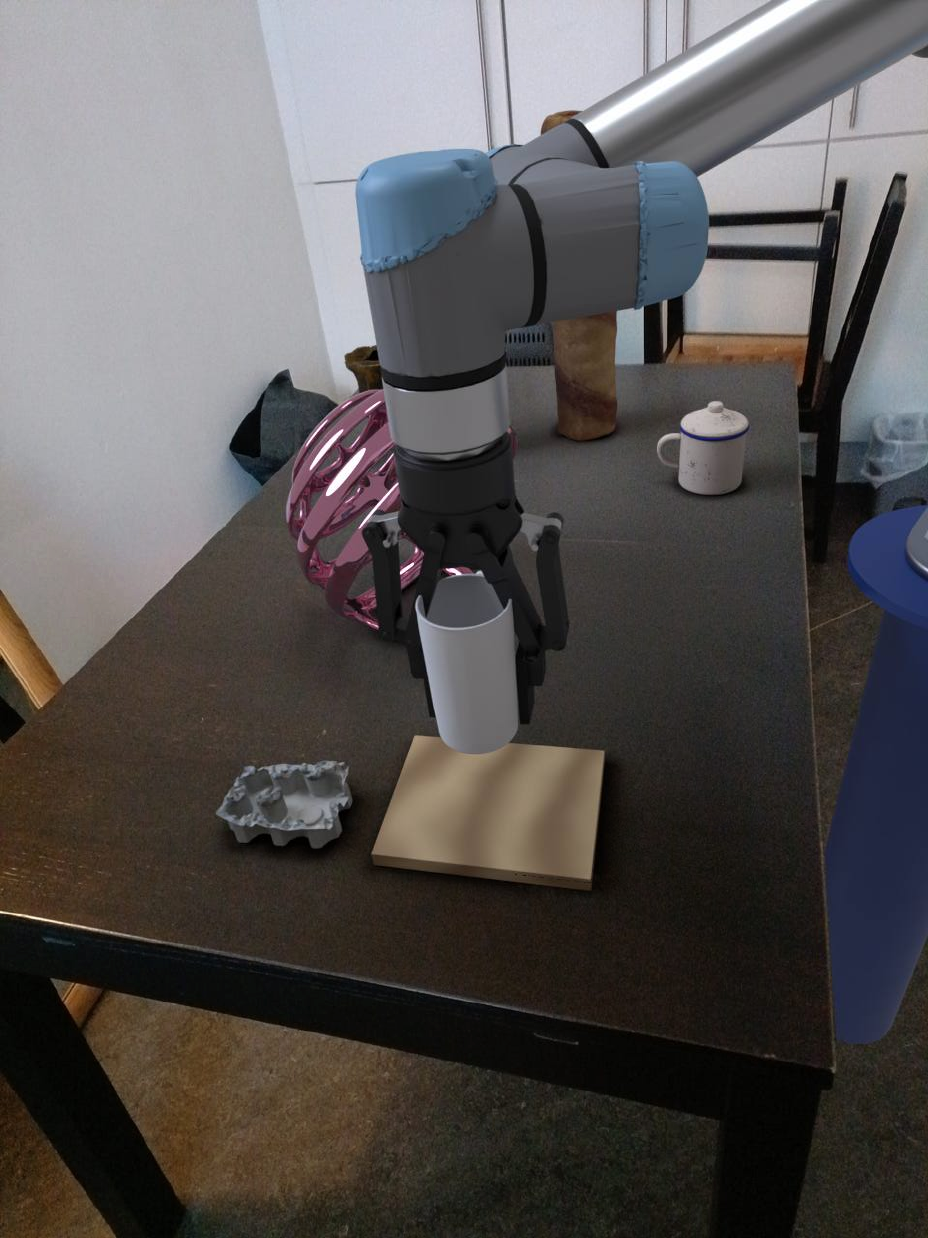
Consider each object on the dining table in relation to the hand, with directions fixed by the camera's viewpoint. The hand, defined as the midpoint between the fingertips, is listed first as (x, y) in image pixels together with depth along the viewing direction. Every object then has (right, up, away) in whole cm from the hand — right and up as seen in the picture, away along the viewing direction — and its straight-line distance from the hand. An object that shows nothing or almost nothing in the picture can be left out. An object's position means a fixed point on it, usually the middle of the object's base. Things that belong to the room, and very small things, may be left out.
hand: (482, 708), depth 65 cm
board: (+1, -10, +7) cm, 12 cm away
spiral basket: (-7, +9, +35) cm, 37 cm away
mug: (0, -1, 0) cm, 1 cm away
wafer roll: (+19, +38, +71) cm, 83 cm away
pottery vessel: (-6, +34, +69) cm, 77 cm away
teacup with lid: (+32, +26, +52) cm, 67 cm away
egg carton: (-17, -11, +9) cm, 22 cm away
